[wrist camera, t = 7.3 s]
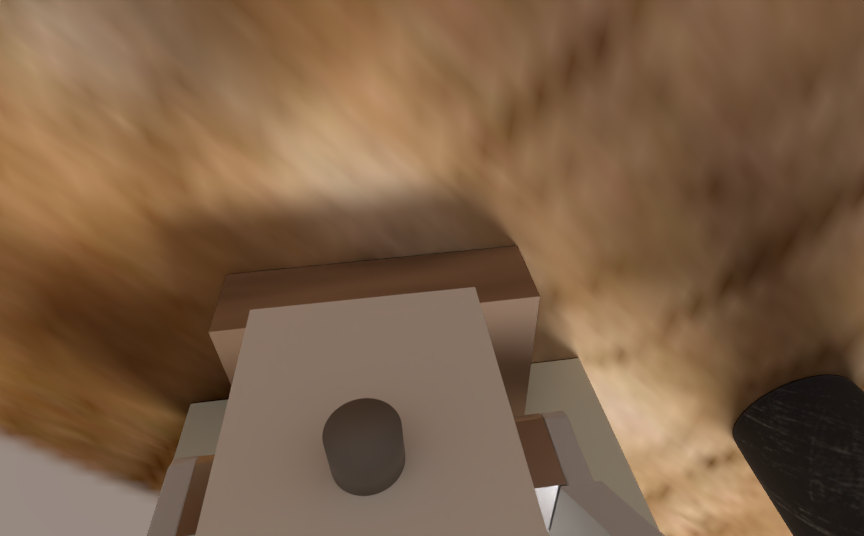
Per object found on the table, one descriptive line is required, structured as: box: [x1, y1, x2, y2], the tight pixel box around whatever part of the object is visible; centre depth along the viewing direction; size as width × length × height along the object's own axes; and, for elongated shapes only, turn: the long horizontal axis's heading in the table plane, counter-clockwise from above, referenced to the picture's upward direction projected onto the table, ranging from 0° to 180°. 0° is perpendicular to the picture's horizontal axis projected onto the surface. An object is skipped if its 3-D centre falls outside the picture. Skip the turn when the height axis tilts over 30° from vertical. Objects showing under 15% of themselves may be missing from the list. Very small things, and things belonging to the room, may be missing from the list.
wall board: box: [174, 358, 659, 536], centre depth 20 cm, size 2×18×9 cm, turn 92°
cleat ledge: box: [209, 246, 540, 417], centre depth 20 cm, size 7×11×3 cm, turn 92°
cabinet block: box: [195, 287, 548, 536], centre depth 10 cm, size 6×5×6 cm
